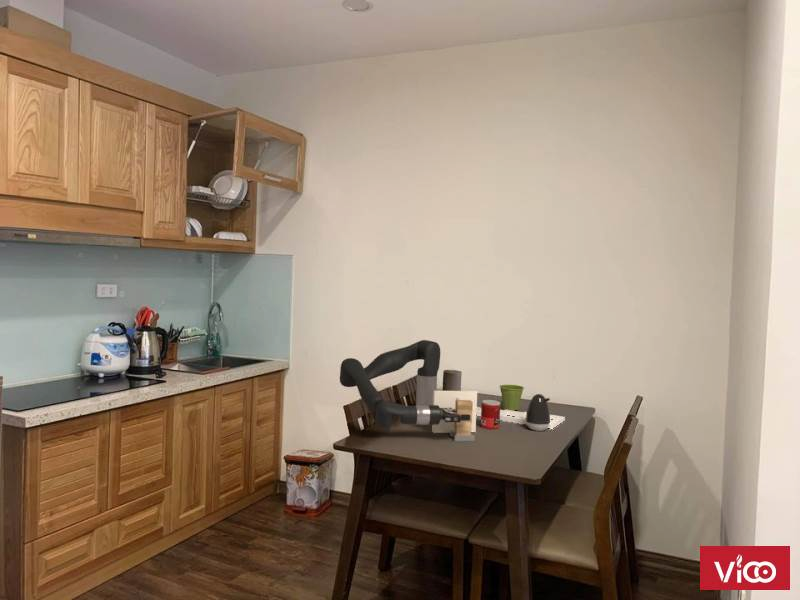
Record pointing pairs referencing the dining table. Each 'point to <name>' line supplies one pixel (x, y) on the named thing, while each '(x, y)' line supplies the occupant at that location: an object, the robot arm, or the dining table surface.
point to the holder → (523, 417)
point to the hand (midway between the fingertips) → (467, 414)
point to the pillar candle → (451, 380)
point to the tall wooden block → (463, 426)
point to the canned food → (490, 414)
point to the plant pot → (511, 396)
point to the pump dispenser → (538, 413)
